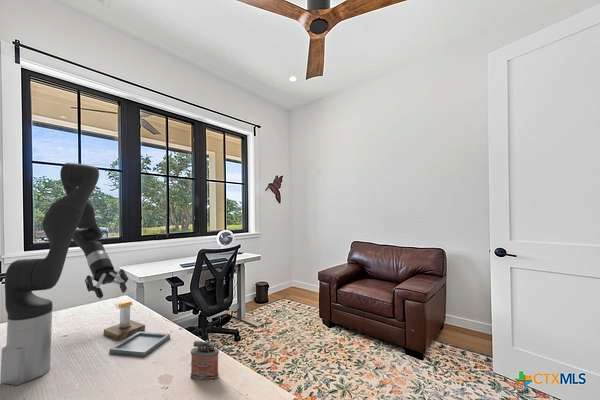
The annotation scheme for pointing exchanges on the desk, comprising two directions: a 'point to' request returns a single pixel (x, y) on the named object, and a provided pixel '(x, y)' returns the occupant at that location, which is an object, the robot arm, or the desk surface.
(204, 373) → the lighter
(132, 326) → the socket plate
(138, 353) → the tray
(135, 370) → the desk surface
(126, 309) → the key
